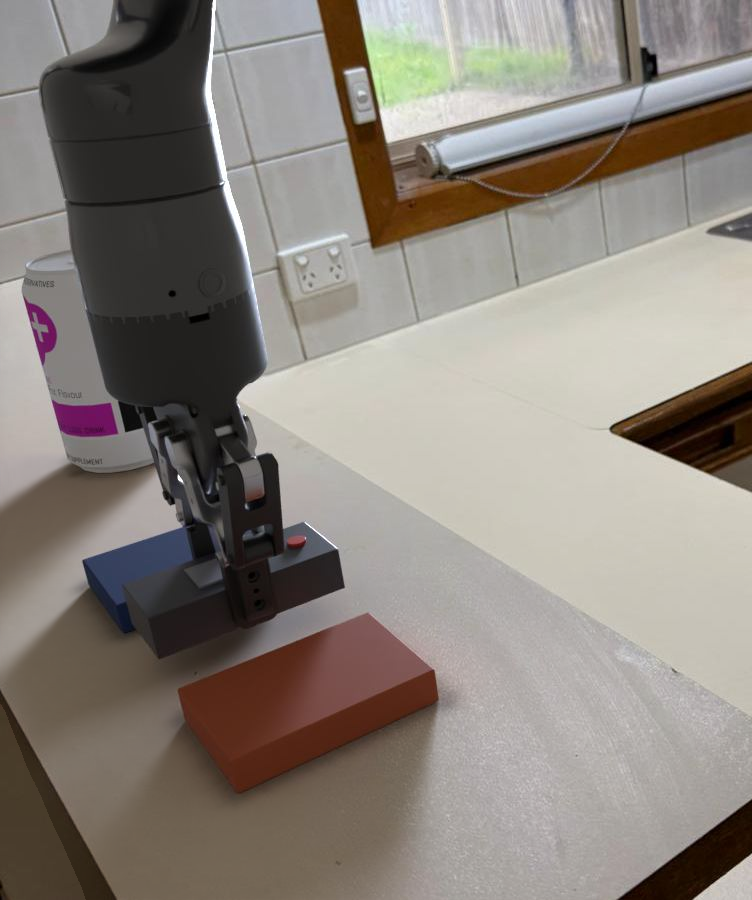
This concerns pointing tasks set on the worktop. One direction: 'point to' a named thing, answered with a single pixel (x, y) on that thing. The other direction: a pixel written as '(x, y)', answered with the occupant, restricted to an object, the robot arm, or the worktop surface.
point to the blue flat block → (134, 569)
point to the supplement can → (79, 372)
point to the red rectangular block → (306, 699)
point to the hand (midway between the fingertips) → (238, 601)
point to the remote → (204, 596)
